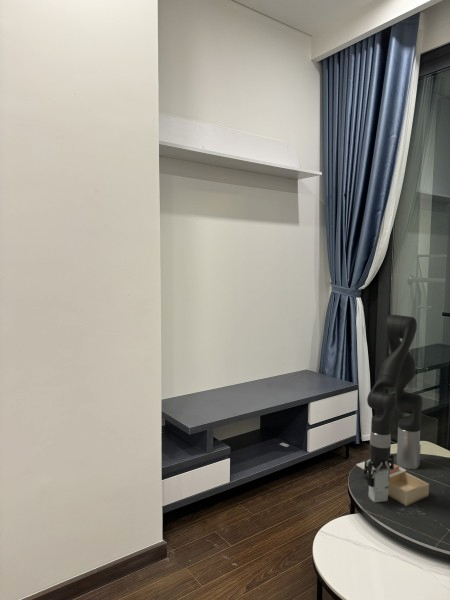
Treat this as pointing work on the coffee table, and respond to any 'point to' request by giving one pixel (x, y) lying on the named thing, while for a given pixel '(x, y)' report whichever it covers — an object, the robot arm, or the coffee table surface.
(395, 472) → the lid
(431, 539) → the coffee table surface
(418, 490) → the box
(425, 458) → the coffee table surface
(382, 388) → the robot arm
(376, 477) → the skincare box
